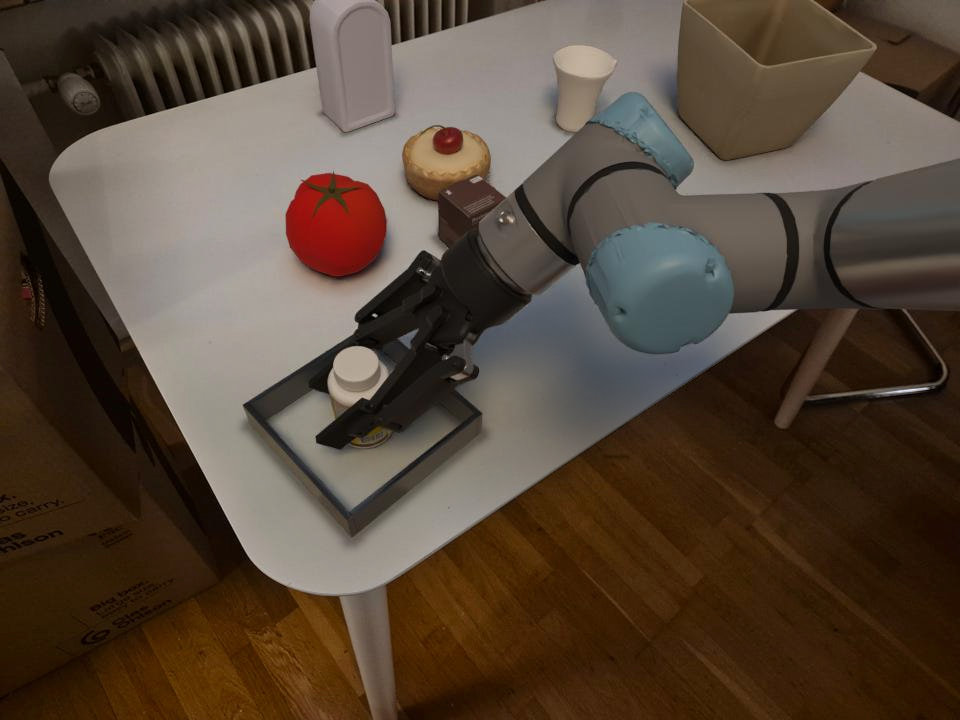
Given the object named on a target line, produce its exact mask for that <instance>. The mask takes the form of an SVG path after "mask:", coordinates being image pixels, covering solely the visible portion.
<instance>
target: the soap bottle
mask: <svg viewBox="0 0 960 720" xmlns="http://www.w3.org/2000/svg"><path fill="white" fill-rule="evenodd" d="M309 28H310V34H311V39H312V45H313V46H312V48H313V54H314V61H315V67H316V74H317V81H318V88H319V95H320V103H321V109H322V112H323V113H324V114H325V116H327V117H328V118H329V119H330V120H331V121H332V122H333V123H334V124H335V125H336V126H337V127H338V128H339V129H340V130H341V131H342V132H343V133H349V132H351V131H354V130H357V129H360V128H364V127H365V126H369V125H371V124H374V123H377V122H380V121H383V120H385V119H388V118H391V117H393V116H394V115H395V113H396V107H395V106H396V104H395V103H396V102H395V85H394V84H395V83H394V64H393V46H392V27H391V19H390V16H389V12H388V11H387V9H385V7H384V6H383V5H382V4H381V3H380V2H378V1H377V0H313V2H312V5H311V7H310V8H309Z"/></svg>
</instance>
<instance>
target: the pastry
mask: <svg viewBox="0 0 960 720" xmlns="http://www.w3.org/2000/svg"><path fill="white" fill-rule="evenodd" d="M401 158H402V164H403V169H404V173H405V176H406V178H407V181H408V183H409V185H410V186H411V188H412V189H413V190H414V191H415V192H417V193H418V194H419V195H421V196H422V197H424V198H426V199H429V200H432V201H438V198H439V191H440V190H442V189H444V188H447V187H449V186H451V185H453V184H454V183H456V182H458V181H462V180H465V179H467V178H469V177H472V176H474V175H478V176H480V177H481V178H482V179H484V180H485V181H486V179H487V178H488V177H489V173H490V169H491V164H492V156H491V151H490V148H489V147H488V143H486V141H485V140H484V139H483V138H482V137H481V136H479V135H478V134H477V133H472V132H470V131H468V130H461V129H459V128H458V127H454V126H444V125H441V124H434V125H430V126H429V127H427V128H426V129H424V130H420V131H419V132H418V133H417V134H415V135H411V136H410V137H409V139H407V141H406V142H405V143H404V145H403V148H402V153H401Z"/></svg>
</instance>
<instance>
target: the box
mask: <svg viewBox="0 0 960 720" xmlns="http://www.w3.org/2000/svg"><path fill="white" fill-rule="evenodd" d="M505 198H507V197H506V196H505V195H504V194H503V193H501V191H499V190H498V189H496V188H495V187H494V186H492V185H491V184H490V183H489V182H488V181H486V180H484V179H482V178H481V177H480V176H478V175H474V176H472V177H469V178H467V179H465V180H462V181H458V182H456V183H454V184H453V185H451V186H449V187H447V188H444V189H442V190H440V191H439V198H438V202H437V203H438V210H437V211H438V216H437V217H438V218H437V221H438V222H437V223H438V225H437V227H438V228H437V238H438V239H439V240H441V241H442V242H443V243H444V244H445V245H446V246H448V248H450V247H451V246H452V245H453V244H454V243H455V242H457V241H458V240H459V239H460V238H461V237H462V236H463V235H464V234H465V233H467V232H468V231H469V230H470V229H479V222H480V221H481V220H482V219H483V218H484V217H485V216H486V215H487V214H489V213H490V212H491V211H492V210H493V209H494V208H495V207H496V206H498V205H499V204H500V203H501V202H502V201H503V200H504V199H505Z"/></svg>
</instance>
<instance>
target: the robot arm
mask: <svg viewBox="0 0 960 720" xmlns="http://www.w3.org/2000/svg"><path fill="white" fill-rule="evenodd" d="M694 168H695V160H694V159H693V157H692V156H691V154H690V153H689V151H688V150H687V149H686V147H685V146H684V144H683V143H682V142H681V141H680V139H679V138H678V136H677V135H676V134H675V133H674V132H673V130H672V129H671V128H670V126H669V125H668V123H666V121H665V120H664V119H663V118H662V116H661V115H660V113H658V111H657V110H656V108H655V107H654V106H653V105H652V104H651V103H650V101H649V100H648V99H647V97H645V95H643V94H642V93H640V92H636V91H629V92H625V93H623V94H621V96H619V97H618V98H616V99H615V101H613V102H612V103H610V105H608V106H607V107H605V109H603V110H602V111H601V112H600V113H599V114H597V115H596V116H593V118H590V119H589V120H588V121H587V122H586V123H585V125H584V126H583V127H582V128H581V129H580V130H579V131H578V132H577V133H574V134H573V135H572V136H571V137H570V138H569V139H568V140H567V141H565V143H564V144H562V146H560V147H559V148H558V149H557V150H555V152H554V153H553V154H552V155H551V156H549V157H548V158H547V159H546V160H545V161H544V162H543V163H542V164H541V165H540V166H539V167H538V168H536V169H535V171H533V172H531V174H530V175H529V176H528V177H527V178H526V179H524V181H523V182H522V183H521V184H520V185H519V186H518V187H516V188H515V189H514V190H513V191H512V192H511V193H509V194H508V195H507V197H506V198H505V199H504V200H503V201H502V202H501V203H500V204H499V205H498V206H496V207H495V208H494V209H493V210H492V211H491V212H490V213H489V214H487V215H486V216H485V217H484V218H483V219H482V220H481V221H480V222H479V229H470V230H469V231H468V232H467V233H465V234H464V235H463V236H462V237H461V238H460V239H459V240H458V241H457V242H455V243H454V244H453V245H452V246H451V247H448V248H447V249H446V250H445V251H444V252H443V254H441V258H440V259H439V258H438V257H437V256H435V255H433V254H431V253H430V252H429V251H427V250H425V249H424V250H423V249H422V250H420V252H419V253H418V254H417V255H416V256H415V258H414V259H413V260H412V262H411V263H410V265H409V266H408V267H407V268H406V269H405V270H404V271H403V272H402V273H401V274H399V275H398V276H397V277H395V278H394V280H392V281H391V282H390V283H389V284H388V285H387V286H385V287H384V288H383V289H382V290H380V291H379V293H377V294H376V295H375V296H374V297H373V298H371V299H370V300H369V301H368V302H367V303H366V304H365V305H363V306H362V307H361V308H360V309H359V310H357V312H356V313H355V315H354V322H355V323H357V328H356V329H355V330H354V332H353V333H352V335H353V338H352V339H351V340H350V341H349V342H348V343H347V344H346V345H345V346H343V347H342V348H341V349H340V350H339V351H338V352H337V353H336V355H335V357H336V356H337V355H338V354H339V353H340V352H341V351H342V350H344V349H346V348H349V347H353V346H362V347H366V348H369V349H371V348H373V349H372V350H375V351H377V352H379V353H382V352H383V351H382V350H381V349H383V346H384V345H386V344H388V343H390V342H392V341H394V340H396V339H398V340H399V339H400V338H402V337H404V336H406V335H408V334H410V333H411V332H414V331H416V330H417V332H416V333H415V334H414V335H413V337H412V338H411V339H410V341H409V344H410V348H409V351H408V352H407V353H406V354H405V356H404V357H403V358H402V360H401V361H400V362H399V363H398V364H396V366H395V367H394V368H393V370H392V371H391V372H390V373H389V376H388V377H387V379H386V380H385V381H384V382H383V384H382V385H381V386H380V387H379V389H378V390H377V391H376V393H375V394H374V395H373V396H372V398H371V399H370V400H368V399H365V398H361V399H359V400H358V401H357V402H356V403H355V404H353V405H352V406H351V407H350V408H349V409H347V410H346V411H345V412H344V413H343V414H341V415H340V416H339V417H338V418H337V419H335V418H334V420H333V421H332V422H331V423H329V424H328V425H327V426H326V427H325V428H323V429H321V430H320V431H319V432H318V433H317V434H316V435H315V436H314V437H315V438H314V439H315V444H317V445H321V446H324V447H328V448H330V449H331V448H332V449H334V450H339V451H341V450H342V449H343V448H345V447H346V446H348V445H349V443H350V442H351V441H352V440H354V439H355V438H356V437H357V438H364V437H365V436H366V435H368V434H369V433H370V432H371V431H373V430H374V429H375V428H377V427H381V428H384V429H387V430H390V431H392V433H396V434H402V433H403V432H405V431H406V430H407V429H408V428H409V427H411V426H412V425H413V424H414V423H415V422H417V421H418V420H420V419H421V417H423V416H424V415H425V414H426V413H428V412H429V411H430V410H431V409H432V408H433V407H435V406H436V405H437V404H439V403H440V402H439V401H440V400H442V399H443V398H444V397H445V396H446V395H448V394H449V393H450V392H451V391H452V390H454V389H455V390H456V388H458V387H459V386H461V385H463V384H466V383H468V382H471V381H473V380H476V379H477V378H479V376H480V371H481V370H480V367H479V366H478V364H477V365H476V364H475V363H473V347H474V346H475V345H476V344H477V343H478V341H479V339H480V337H481V336H482V335H483V334H484V333H485V331H486V330H488V329H490V328H494V327H498V326H502V325H504V324H505V323H506V322H507V321H509V320H510V319H511V318H513V317H514V316H515V315H516V314H518V313H519V312H520V311H522V310H523V309H524V308H526V307H527V306H528V305H529V304H530V303H531V301H532V298H533V295H534V296H541V295H542V294H543V293H545V291H547V290H548V289H550V287H552V286H553V285H554V284H556V283H557V282H558V281H559V280H561V279H562V278H563V277H564V276H565V275H567V273H569V272H570V271H571V270H572V269H574V268H575V267H576V266H578V265H580V268H581V270H582V272H583V275H584V278H585V285H586V287H587V288H588V292H589V296H590V298H591V300H592V301H593V303H594V304H595V305H596V306H597V308H598V309H599V311H600V313H601V315H602V317H603V319H604V321H605V323H606V325H607V327H608V329H609V331H610V332H611V334H612V335H613V336H614V337H615V338H616V339H617V341H618V342H620V343H621V344H622V345H623V346H625V347H626V348H629V349H630V350H633V351H636V352H638V353H642V354H648V355H669V354H674V353H678V352H679V351H680V349H681V348H682V347H685V346H687V345H690V344H693V345H698V344H700V343H701V342H703V341H705V340H707V339H708V338H709V337H711V335H713V334H714V333H715V332H716V331H717V330H718V329H719V328H720V327H721V326H722V325H723V323H724V322H725V320H726V319H727V318H728V316H729V315H730V314H749V313H751V314H753V313H760V312H769V311H791V310H795V311H796V310H817V309H818V310H824V309H825V310H826V309H845V310H885V309H887V310H915V311H916V310H918V311H945V312H947V311H948V312H960V157H959V158H955V159H951V160H947V161H943V162H938V163H934V164H930V165H927V166H923V167H919V168H914V169H910V170H907V171H902V172H899V173H895V174H890V175H886V176H881V177H878V178H875V179H874V180H873V179H872V180H867V181H862V182H859V183H854V184H850V185H846V186H841V187H837V188H831V189H822V190H809V191H808V190H807V191H790V192H777V193H776V192H775V193H774V192H755V193H751V192H750V193H719V194H718V193H717V194H716V193H715V194H693V195H692V194H691V195H690V194H689V195H687V194H686V195H684V194H680V193H679V192H678V191H677V190H678V188H679V186H680V185H681V184H682V183H683V182H684V181H685V180H686V179H688V177H689V176H691V175H692V173H693V171H694ZM374 315H376V316H374ZM383 353H384V352H383ZM334 359H335V358H334ZM334 359H333V360H332V361H331V362H330V363H328V364H327V365H326V366H325V367H324V368H323V369H322V370H321V371H320V372H318V373H317V374H316V375H315V376H314V377H313V378H312V379H311V380H309V381H308V382H309V388H312V390H314V391H318V392H320V393H324V394H326V395H328V396H330V394H329V390H328V376H329V374H330V372H331V370H332V368H333V363H334Z"/></svg>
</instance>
